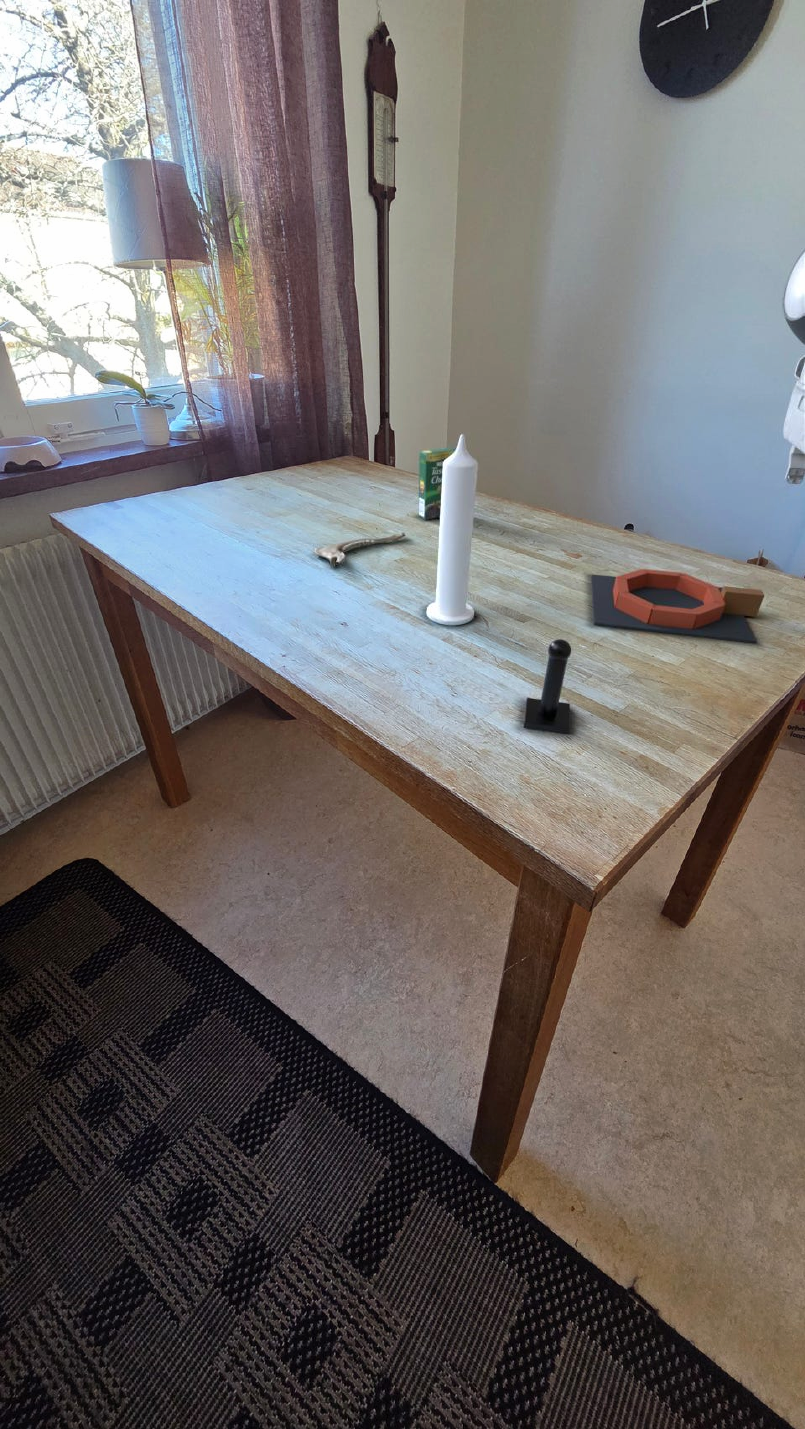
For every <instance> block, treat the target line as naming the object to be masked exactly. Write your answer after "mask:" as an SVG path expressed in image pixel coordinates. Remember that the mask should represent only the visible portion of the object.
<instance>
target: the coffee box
mask: <svg viewBox="0 0 805 1429" xmlns="http://www.w3.org/2000/svg"><path fill="white" fill-rule="evenodd" d="M456 449H457V447H454V446H449V447H443V448H436V449H429V450H421V451H419V453H418V462H419V463H418V508H417V510H418V517H419V518H420V519H423V520H424V521H426V520H432V519H437V518H440V512H441V493H442V474H443V462H444V460H445V459H447V458H448V457H450V456H451V455H452V454H453V453H454V452H455V451H456Z"/></svg>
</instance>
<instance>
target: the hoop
mask: <svg viewBox="0 0 805 1429" xmlns="http://www.w3.org/2000/svg"><path fill="white" fill-rule="evenodd" d="M615 577H616V580H615V584H614V588H613V596H614V604H615V607H616V608H617V609H619V610H621V611H623V612H625V613H627V614H629V615H631V616H633V617H635V618H637V619H639V620H641V621H643V622H645V623H647V624H648V623H649V624H651V625H660V626H668V627H677V628H686V629H696V628H698V627H701V626H704V625H706V624H709V623H711V622H714V621H717V620H719V619H720V618H721V615H722V613H726V614H736V615H743V616H744V617H745V616H746V617H754V618H755V617H757V616H758V613H759V612H760V611H759V610H760V608H761V606H762V603H763V601H764V598H765V596H766V595H765V594H764V592H763V590H762V589H755V588H745V587H734V586H725V585H723V586H722V591H721V593H720V591H719V589H718V587H719V586H717V585H714V584H712V583H710V582H707V581H704V580H702V579H700V578H697V577H695V576H692V575H690V574H688V573H685V572H679V571H670V570H669V571H668V570H658V569H649V568H641V569H638V570H637V569H636V570H634V571H630V572H627V573H624V574H621V575H618V576H617V575H616V576H615ZM641 587H654V588H663V589H673V590H678V591H680V592H682V593H684V594H687V595H689V596H691V597H693V598H696V599H698V600H700V601H703V603H704V605H702V606H700V607H697V608H694V609H686V608H677V607H667V606H658V605H654V604H652V603H650V602H648V601H646V600H644V599H642V598H639V597H637V596H635V595H633V594H631V593H629V591H632V590H635V589H638V588H641Z"/></svg>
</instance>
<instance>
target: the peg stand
mask: <svg viewBox="0 0 805 1429" xmlns="http://www.w3.org/2000/svg"><path fill="white" fill-rule="evenodd" d="M547 648H548V649H547V652H548V659H547V664H546V668H545V670H546V671H545V675H544V681H543V686H542V691H541V696H540V699H539V698H533V697H531V698H530V697H526V701H525V709H524V718H523V729H524V728H525V729H531V730H537V731H544V732H552V733H557V734H563V735H569V734H570V729H571V728H570V726H571V703H568V702H561V701H560V698H561V694H562V689H563V685H564V679H565V674H566V669H567V666H568V665H567V664H568V661H569V658H570V656H571V654H572V646H571V643H569V642H568V641H567V640H565V639H563V638H558V639H555V640H553V641H552V642H551V643H550V644H549V645H548V647H547Z"/></svg>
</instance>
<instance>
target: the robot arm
mask: <svg viewBox="0 0 805 1429" xmlns="http://www.w3.org/2000/svg"><path fill="white" fill-rule="evenodd" d="M781 302H782V303H781V305H782V306H781V307H782V313H783V316H784V318H785V321H786V324H787V325H788V328H789V329H790V330H791V332H792V333H793V334H794V336H795V337H796V338H797V339H798V341H800V342H801V344H802V345H804V346H805V248H804V249H803V251H802V252H801V253H800V255H799V256H798V257H797V259H796V261H795V262H794V264H793V266H792V268H791V270H790V272H789V274H788V277H787V281H786V283H785V285H784V290H783V295H782V301H781ZM793 375H794V378H796V379H797V380H796V382H795V383H794V386H793V389H792V392H791V396H790V399H789V403H788V406H787V411H786V415H785V419H784V423H783V429H782V437H783V438H784V439H785V440H786V441H788V442H789V443H790V444H792V445H791V447H790V450H789V457H788V466H787V467H788V468H787V470H786V473H785V476H784V480H785V481H786V482H787V483H788V484H790V485H800V484H801V483H803V480H804V477H805V354H804V355H803V356H801V357H800V358H799V360H798V361H797V364H796V367H795V370H794V374H793Z"/></svg>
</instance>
